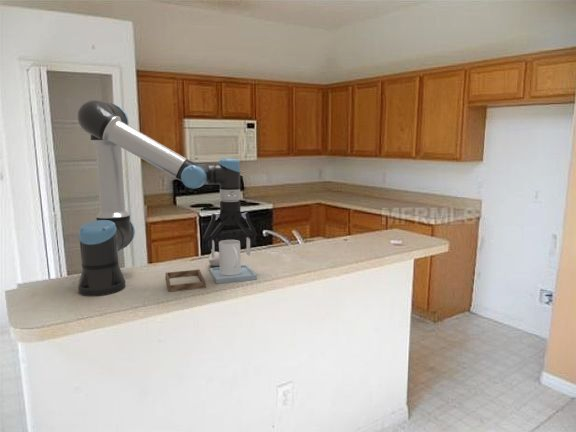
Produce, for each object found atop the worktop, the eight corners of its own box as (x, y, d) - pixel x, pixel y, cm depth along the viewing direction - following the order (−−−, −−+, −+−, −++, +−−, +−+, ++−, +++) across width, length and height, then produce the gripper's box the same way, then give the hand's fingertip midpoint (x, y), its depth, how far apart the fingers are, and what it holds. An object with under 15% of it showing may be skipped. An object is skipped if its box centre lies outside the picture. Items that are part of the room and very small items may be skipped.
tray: (216, 284, 153) (216, 279, 153) (209, 272, 167) (209, 268, 167) (256, 279, 158) (256, 274, 158) (247, 268, 172) (247, 264, 172)
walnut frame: (168, 291, 146) (168, 286, 145) (165, 277, 161) (165, 272, 161) (205, 287, 150) (205, 281, 149) (199, 274, 165) (199, 269, 165)
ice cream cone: (207, 271, 168) (219, 267, 183) (218, 262, 167) (230, 258, 182) (198, 259, 168) (211, 256, 183) (209, 250, 168) (221, 247, 182)
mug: (247, 276, 159) (246, 244, 157) (224, 279, 155) (223, 247, 153) (237, 268, 169) (237, 238, 167) (216, 270, 166) (215, 240, 164)
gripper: (197, 202, 150) (199, 261, 154) (265, 200, 158) (265, 255, 162) (194, 200, 157) (196, 256, 161) (259, 198, 165) (260, 251, 169)
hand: (230, 256), depth 161 cm, fingers open, 13 cm apart
